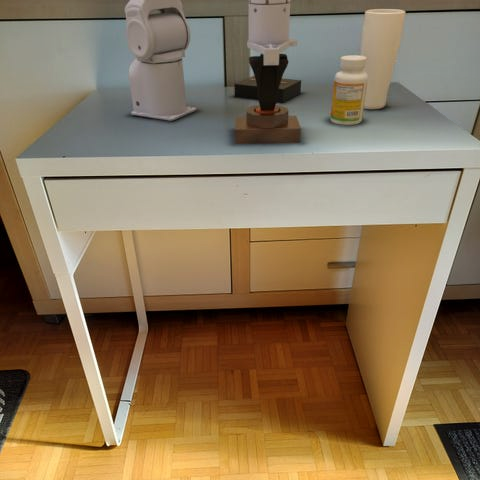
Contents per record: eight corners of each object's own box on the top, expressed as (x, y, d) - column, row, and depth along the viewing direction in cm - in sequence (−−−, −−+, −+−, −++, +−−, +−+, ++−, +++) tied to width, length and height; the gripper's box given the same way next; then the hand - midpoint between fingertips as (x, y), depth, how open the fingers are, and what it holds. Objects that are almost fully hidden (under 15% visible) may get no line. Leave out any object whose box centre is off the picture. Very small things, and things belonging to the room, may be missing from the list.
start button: (255, 124, 70) (256, 112, 69) (255, 118, 73) (255, 106, 72) (279, 124, 70) (279, 112, 69) (277, 117, 73) (277, 105, 72)
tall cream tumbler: (387, 112, 82) (405, 13, 73) (349, 110, 84) (362, 12, 75) (390, 103, 87) (407, 9, 78) (354, 100, 89) (367, 8, 79)
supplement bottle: (339, 115, 82) (347, 53, 75) (367, 120, 79) (376, 56, 73) (324, 122, 78) (330, 58, 72) (352, 127, 76) (360, 61, 70)
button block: (235, 144, 70) (235, 116, 68) (235, 130, 76) (235, 104, 73) (300, 142, 70) (301, 115, 68) (295, 129, 76) (297, 103, 73)
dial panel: (234, 97, 93) (234, 82, 91) (254, 88, 99) (254, 74, 97) (283, 103, 89) (283, 88, 87) (300, 93, 94) (301, 79, 93)
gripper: (304, 7, 56) (298, 122, 65) (293, -2, 67) (288, 97, 76) (248, 8, 56) (248, 123, 65) (246, -1, 67) (246, 98, 76)
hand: (267, 109), depth 70 cm, fingers closed, pressing on start button
